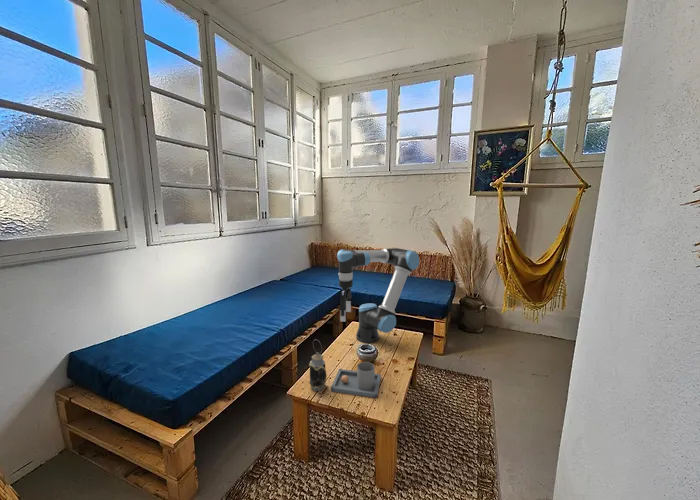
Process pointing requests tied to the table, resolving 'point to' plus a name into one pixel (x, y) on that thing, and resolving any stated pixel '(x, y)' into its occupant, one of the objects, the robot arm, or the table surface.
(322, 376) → the lantern
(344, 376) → the ball
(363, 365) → the cup
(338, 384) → the tray
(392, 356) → the table surface
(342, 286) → the robot arm
